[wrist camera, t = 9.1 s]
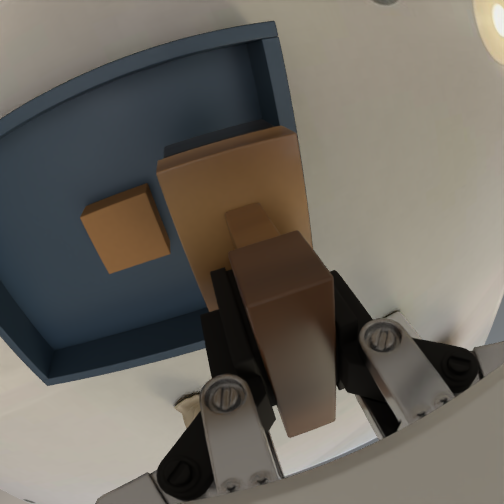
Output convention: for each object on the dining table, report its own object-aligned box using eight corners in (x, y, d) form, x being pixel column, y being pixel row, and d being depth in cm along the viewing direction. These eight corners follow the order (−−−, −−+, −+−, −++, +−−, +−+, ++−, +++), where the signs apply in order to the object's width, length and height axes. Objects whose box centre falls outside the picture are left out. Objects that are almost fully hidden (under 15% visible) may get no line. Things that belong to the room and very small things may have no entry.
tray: (-60, 169, 12) (-90, 190, 9) (254, 28, 14) (275, 20, 11) (54, 352, 22) (47, 386, 19) (301, 279, 24) (319, 310, 21)
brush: (158, 148, 11) (147, 264, 5) (267, 117, 12) (393, 189, 5) (223, 325, 17) (261, 460, 11) (299, 300, 18) (364, 422, 11)
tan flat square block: (85, 206, 16) (79, 217, 15) (147, 182, 17) (146, 192, 16) (112, 260, 19) (109, 274, 18) (170, 241, 19) (171, 254, 18)
